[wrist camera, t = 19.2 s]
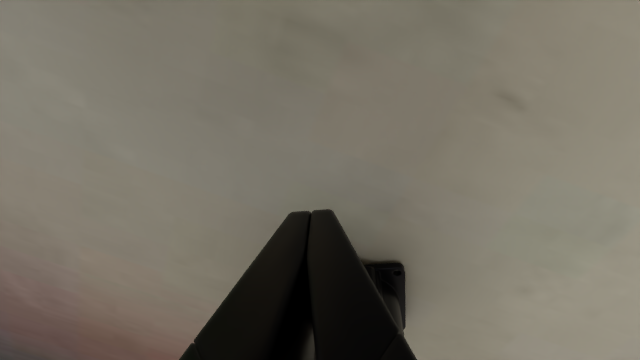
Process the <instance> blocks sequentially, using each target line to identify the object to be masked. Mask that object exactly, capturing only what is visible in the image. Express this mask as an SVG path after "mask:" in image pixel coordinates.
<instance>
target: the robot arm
mask: <svg viewBox="0 0 640 360" xmlns="http://www.w3.org/2000/svg"><path fill="white" fill-rule="evenodd" d="M396 270H398V271H396ZM404 329H405V270H404V266H403V265H402V264H400V263H386V264H370V265H363V264H362V262H361V260H360V258H359V257H358V255H357V253H356V251H355V249H354V248H353V246H352V244H351V242H350V241H349V239H348V237H347V235H346V233H345V232H344V230H343V228H342V226H341V225H340V223H339V221H338V219H337V217H336V216H335V214H334V212H333V211H332V210H330V209H326V210H314V211H313V212H312V213H310V212H309V211H299V212H291V213H290V214H289V215H288V216H287V217H286V219H285V220H284V221H283V223H282V224H281V225H280V227H279V228H278V229H277V231H276V232H275V233H274V235H273V236H272V237H271V239H270V240H269V241H268V243H267V244H266V245H265V246H264V248H263V249H262V250H261V252H260V253H259V254H258V256H257V257H256V258H255V260H254V261H253V262H252V264H251V265H250V266H249V268H248V269H247V270H246V272H245V273H244V274H243V276H242V277H241V278H240V280H239V281H238V282H237V284H236V285H235V286H234V288H233V289H232V290H231V292H230V293H229V294H228V296H227V297H226V298H225V300H224V301H223V302H222V304H221V305H220V306H219V308H218V309H217V310H216V312H215V313H214V314H213V316H212V317H211V318H210V319H209V321H208V322H207V323H206V325H205V326H204V327H203V329H202V330H201V331H200V333H199V334H198V335H197V337H196V338H195V339H194V343H195V344H194V343H192V344H190V346H189V347H188V348H187V350H186V351H185V352H184V354H183V355H182V356H181V358H180V359H179V360H417V359H416V357H415V355H414V354H413V352H412V350H411V349H410V347H409V345H408V343H407V342H406V340H405V338H404V332H403V330H404Z"/></svg>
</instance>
